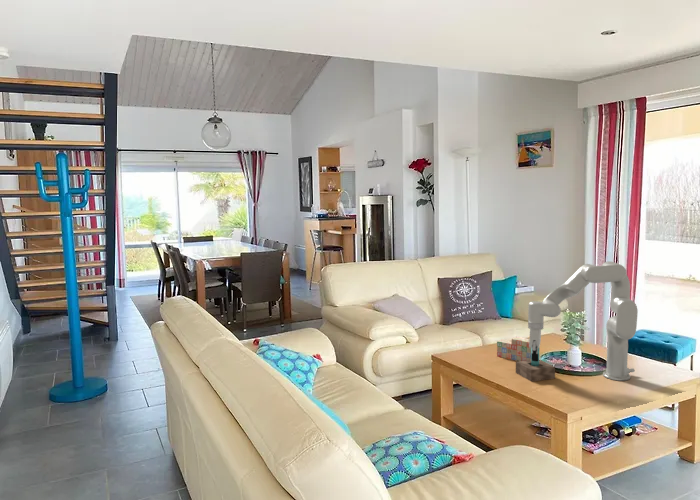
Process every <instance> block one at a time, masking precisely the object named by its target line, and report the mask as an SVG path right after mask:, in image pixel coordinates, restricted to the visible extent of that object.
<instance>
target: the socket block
mask: <svg viewBox="0 0 700 500" xmlns="http://www.w3.org/2000/svg"><path fill="white" fill-rule="evenodd" d="M515 374H517V375H519V376H521V377H522V378H524V379H526V380H528V381H530V382H537V381H545V380H553V379H556V366H554V365H551V364H550V363H547V362H546V361H543V360H541V359H539V366H535V367H533V366H531V360H527V361H515Z"/></svg>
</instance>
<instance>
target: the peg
mask: <svg viewBox="0 0 700 500" xmlns="http://www.w3.org/2000/svg"><path fill="white" fill-rule="evenodd" d="M536 348H537V347H536ZM536 350H537V349H536ZM539 360H540V347H539V348H538V361H532V347H531V366H533V367H535V366H539Z"/></svg>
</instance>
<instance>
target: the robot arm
mask: <svg viewBox="0 0 700 500" xmlns="http://www.w3.org/2000/svg"><path fill="white" fill-rule="evenodd" d="M590 283H592V284H601V283H603V284H604V283H605V284H606V283H610V285H611V286H610V287H611V289H610V290H611V291H610V301H609V303H610V304H609V307H610V310H611V311H612V312H613V313H614V314H616V315H613V316H611V317H609V318H608V319H607V320H606V321H607V322H606V325H605V327H606V336H607V341H606V344H607V345H606V369H605V371H603V372H602V376H603V377H604V378H606V379H609V380H613V381H629V380H630V379H631V374H630V373H635V371H636V370H635V368H634V367H632V368H629V367H628V359H629V358H628V351H629V340H630V339H632V338H633V337H634V336H635V335H636V332H637V325H638V311H639V310H638V306H637V304H636V303H635V301H633V300H632V299H631V283H630V279H629V276H628V275H627V269H626V268H625V266H623V265H622V264H619V263H617V262H614V261H609V260H608V261H606V262H605V261H604V262H603V263H602V264H601V265H593V264H591V263H585V264H582V265H581V266H579V268H578V269H577V270H576V271H575V272H574V273H573V274H572V275H571V276H570V277H569V278H568V279H567V280H566V281H565V282H564V283H562V284H561V285H559V286H558V287H556V288H555V289H553V290H552V291H551V292H550V293H549V294H548V295H547V296H546V297H545V298H544V299H543V301H538V300H537V301H534V300H533V301H529V303H528V305H527V306H528V307H527V308H528V309H527V310H528V313H527V315H528V319H527V323H528V325H527V328H528V329H529V338H528V339H529V347H530V348H531V347H532V361H538V348H539V349H540V347H541V341H542V339H541V337H542V330H543V329H544V317H549V318H556V317H558V316H560V314H561V312H562V311H561V310H562V308H561V306H560V304H561V303H562V302H563V301H565V300H566V299H569V298H572V297H576V296H577V295H579V294H580V293H581V292H582V291H583V290H584V289H585V288H586V287H587V286H588V285H589V284H590ZM536 347H537V348H536ZM536 349H537V350H536Z"/></svg>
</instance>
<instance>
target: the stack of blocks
mask: <svg viewBox="0 0 700 500" xmlns="http://www.w3.org/2000/svg"><path fill="white" fill-rule="evenodd" d="M496 357H498V358H499V357H500V358H503V359H509V360H512V361H516V362H518V361H527V360H531V348H530V347H529V338H525V337H520V336H515V337H513V338H511V340H509V339H503V338H501V339H499V340H497V341H496Z"/></svg>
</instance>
